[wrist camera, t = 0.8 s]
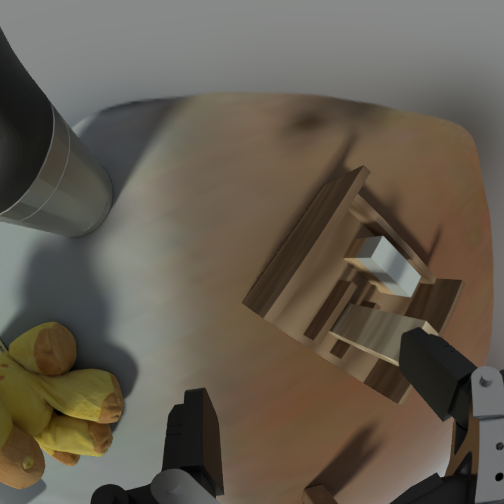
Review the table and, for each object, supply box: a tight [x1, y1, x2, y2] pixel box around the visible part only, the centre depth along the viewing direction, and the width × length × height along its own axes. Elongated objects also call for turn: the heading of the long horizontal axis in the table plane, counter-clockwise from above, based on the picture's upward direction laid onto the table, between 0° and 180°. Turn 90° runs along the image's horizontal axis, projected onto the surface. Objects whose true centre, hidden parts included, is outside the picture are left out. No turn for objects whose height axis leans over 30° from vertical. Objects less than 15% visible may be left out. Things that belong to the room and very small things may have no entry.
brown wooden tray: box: [242, 165, 465, 406], centre depth 32 cm, size 22×18×9 cm
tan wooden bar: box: [329, 303, 438, 366], centre depth 27 cm, size 2×4×15 cm, turn 143°
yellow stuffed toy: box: [0, 322, 124, 489], centre depth 17 cm, size 20×24×19 cm
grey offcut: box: [356, 236, 421, 297], centre depth 31 cm, size 8×3×3 cm, turn 53°
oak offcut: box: [343, 238, 395, 295], centre depth 34 cm, size 8×3×3 cm, turn 53°
